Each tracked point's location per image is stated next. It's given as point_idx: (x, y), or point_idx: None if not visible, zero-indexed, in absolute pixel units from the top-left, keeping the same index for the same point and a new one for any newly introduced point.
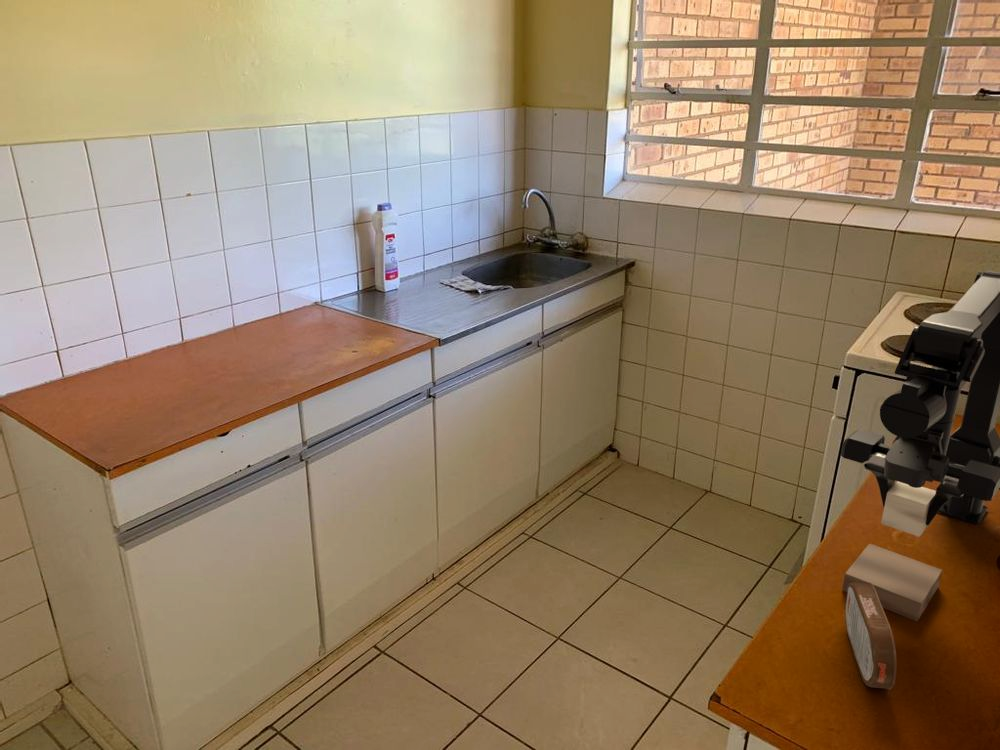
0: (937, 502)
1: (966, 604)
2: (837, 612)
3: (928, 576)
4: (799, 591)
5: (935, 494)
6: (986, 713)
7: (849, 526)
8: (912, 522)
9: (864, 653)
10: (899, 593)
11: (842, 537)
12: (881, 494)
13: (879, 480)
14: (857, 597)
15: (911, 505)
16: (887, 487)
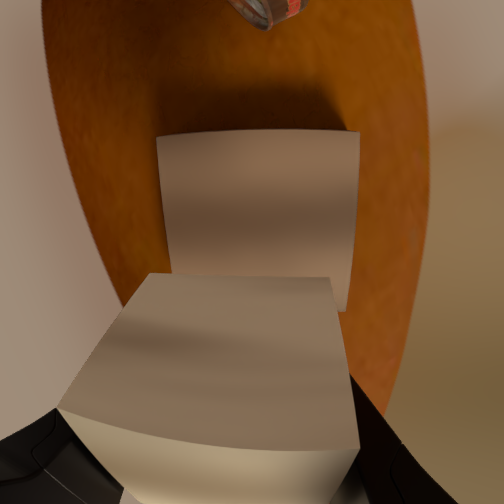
0: (44, 436)
1: (136, 261)
2: (322, 44)
3: (187, 263)
4: (416, 71)
5: (26, 477)
6: (45, 16)
7: (387, 364)
8: (167, 312)
9: None
10: (211, 139)
11: (395, 327)
12: (382, 422)
13: (432, 501)
14: None
15: (155, 396)
16: (365, 481)
